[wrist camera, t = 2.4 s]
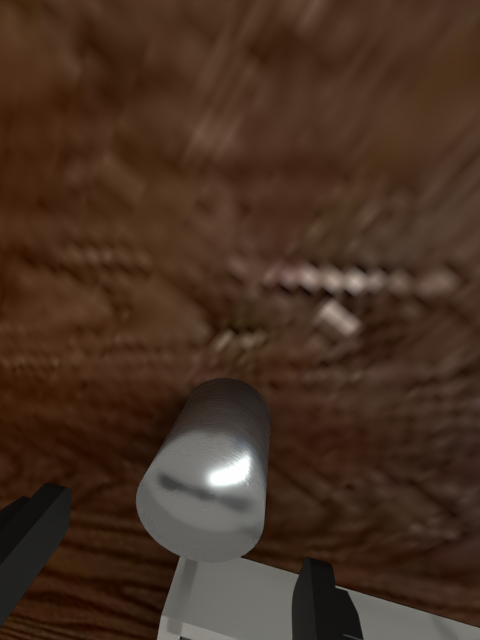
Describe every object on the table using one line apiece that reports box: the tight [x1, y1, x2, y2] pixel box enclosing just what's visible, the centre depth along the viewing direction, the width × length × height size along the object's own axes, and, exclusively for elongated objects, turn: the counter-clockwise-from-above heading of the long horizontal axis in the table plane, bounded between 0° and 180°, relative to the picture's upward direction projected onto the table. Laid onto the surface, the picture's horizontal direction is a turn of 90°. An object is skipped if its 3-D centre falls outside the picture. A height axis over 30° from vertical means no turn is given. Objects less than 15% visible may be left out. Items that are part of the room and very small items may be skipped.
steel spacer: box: [136, 378, 271, 563], centre depth 14 cm, size 5×5×6 cm
